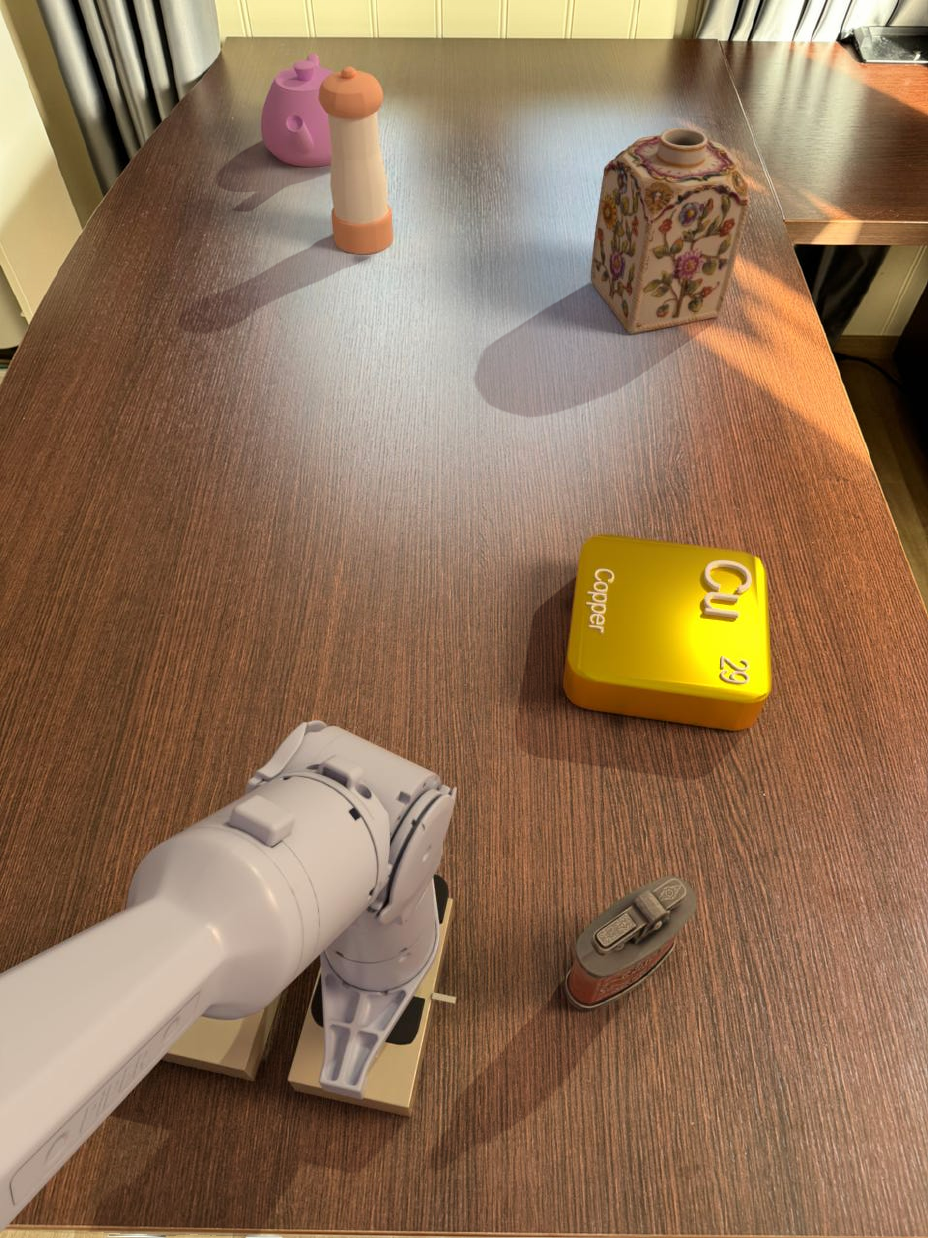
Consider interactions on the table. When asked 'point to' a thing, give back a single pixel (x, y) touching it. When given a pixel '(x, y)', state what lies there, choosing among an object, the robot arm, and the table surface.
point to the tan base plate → (225, 1044)
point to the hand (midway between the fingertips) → (391, 984)
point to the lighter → (628, 942)
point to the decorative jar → (668, 230)
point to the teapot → (297, 116)
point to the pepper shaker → (356, 162)
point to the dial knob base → (393, 1063)
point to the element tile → (669, 632)
